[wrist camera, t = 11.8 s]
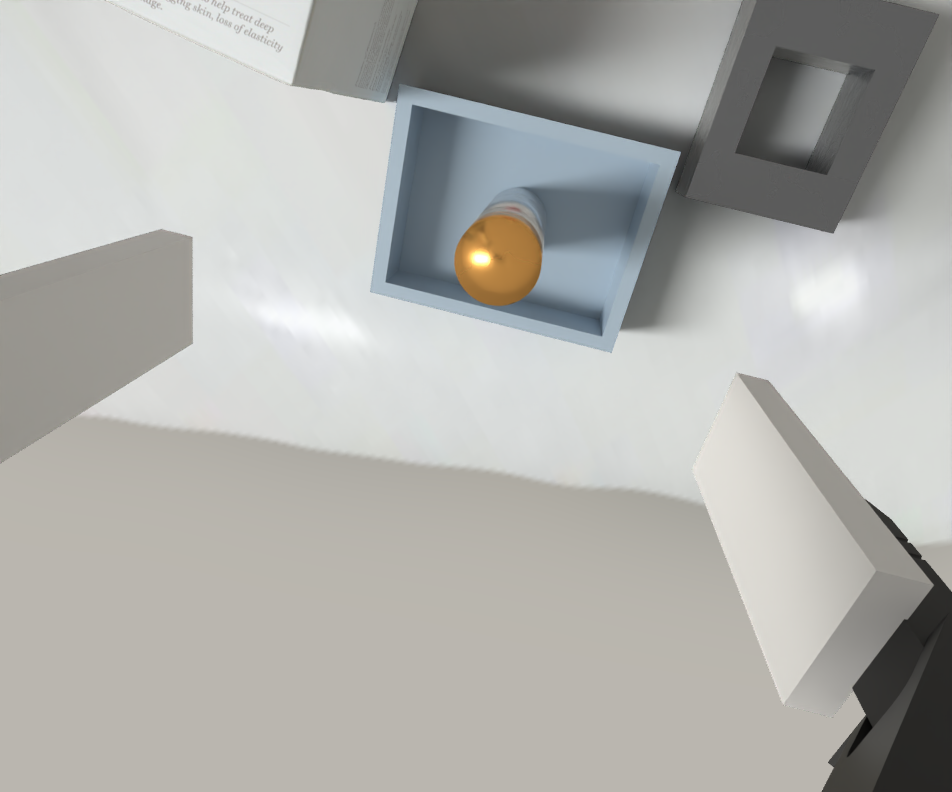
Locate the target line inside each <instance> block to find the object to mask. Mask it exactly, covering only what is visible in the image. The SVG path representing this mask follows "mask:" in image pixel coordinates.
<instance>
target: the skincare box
mask: <svg viewBox="0 0 952 792" xmlns="http://www.w3.org/2000/svg"><path fill="white" fill-rule="evenodd" d="M105 1H107V2H109V3H111V4H113V5H115V6H117V7H119V8H121V9H124V10H126V11H128V12H130V13H132V14H134V15H136V16H138V17H140V18H142V19H144V20H146V21H148V22H150V23H152V24H154V25H156V26H159V27H161V28H163V29H165V30H167V31H169V32H172V33H174V34H176V35H178V36H180V37H182V38H184V39H186V40H189V41H191V42H193V43H195V44H197V45H199V46H202V47H204V48H206V49H208V50H210V51H213V52H215V53H217V54H219V55H222V56H224V57H226V58H228V59H230V60H233V61H235V62H237V63H239V64H241V65H243V66H245V67H247V68H250V69H252V70H254V71H256V72H259V73H261V74H263V75H266V76H268V77H270V78H272V79H275V80H277V81H279V82H282V83H285V84H287V85H290V86H297V87H303V88H309V89H316V90H323V91H327V92H330V93H333V94H338V95H343V96H349V97H354V98H359V99H364V100H370V101H374V102H381V103H384V102H385V101H386V99H387V96H388V92H389V89H390V86H391V83H392V80H393V76H394V73H395V70H396V67H397V64H398V61H399V58H400V54H401V51H402V48H403V45H404V42H405V39H406V36H407V33H408V30H409V26H410V23H411V20H412V17H413V14H414V11H415V8H416V5H417V2H418V0H105Z"/></svg>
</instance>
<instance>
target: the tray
mask: <svg viewBox="0 0 952 792" xmlns="http://www.w3.org/2000/svg"><path fill="white" fill-rule="evenodd" d="M680 154H681V152H679V151H675V150H671V149H667V148H663V147H659V146H654V145H650V144H646V143H642V142H638V141H634V140H630V139H626V138H622V137H618V136H613V135H609V134H605V133H601V132H597V131H593V130H589V129H585V128H581V127H577V126H572V125H568V124H564V123H560V122H556V121H552V120H548V119H544V118H540V117H535V116H531V115H527V114H523V113H519V112H515V111H511V110H507V109H503V108H499V107H494V106H490V105H486V104H482V103H478V102H474V101H470V100H466V99H462V98H458V97H453V96H449V95H445V94H441V93H437V92H433V91H429V90H425V89H421V88H417V87H412V86H408V85H404V84H400V83H399V91H398V98H397V105H396V112H395V119H394V126H393V133H392V140H391V147H390V155H389V162H388V169H387V176H386V183H385V190H384V197H383V204H382V211H381V219H380V226H379V233H378V240H377V247H376V254H375V261H374V268H373V275H372V283H371V290H370V292H372V293H376V294H380V295H384V296H388V297H392V298H396V299H400V300H404V301H408V302H412V303H416V304H420V305H424V306H428V307H432V308H436V309H440V310H444V311H448V312H452V313H455V314H459V315H463V316H467V317H471V318H475V319H479V320H483V321H487V322H491V323H495V324H499V325H503V326H507V327H511V328H515V329H519V330H523V331H527V332H531V333H535V334H539V335H543V336H547V337H551V338H555V339H559V340H563V341H567V342H571V343H575V344H579V345H583V346H587V347H591V348H595V349H599V350H603V351H607V352H610V353H612V350H613V347H614V344H615V341H616V338H617V336H618V333H619V330H620V327H621V324H622V321H623V318H624V315H625V313H626V310H627V307H628V304H629V301H630V298H631V295H632V292H633V289H634V287H635V284H636V281H637V278H638V275H639V272H640V269H641V266H642V264H643V261H644V258H645V255H646V252H647V249H648V246H649V243H650V240H651V238H652V235H653V232H654V229H655V226H656V223H657V220H658V217H659V215H660V212H661V209H662V206H663V203H664V200H665V197H666V194H667V191H668V189H669V186H670V183H671V180H672V177H673V174H674V171H675V168H676V166H677V163H678V160H679V157H680ZM514 187H520V188H525V189H528V190H530V191H532V192H533V193H535V194H536V195H537V196H538V197H539V198H540V199H541V201H542V202H543V204H544V207H545V210H546V215H547V221H546V231H545V239H544V248H543V257H542V266H541V272H540V276H539V279H538V281H537V283H536V285H535V286H534V288H533V289H532V290H531V291H530V293H529V294H528V295H526V296H525V297H524V298H522V299H521V300H519V301H517V302H515V303H512V304H509V305H504V306H493V305H487V304H484V303H482V302H479V301H477V300H476V299H474V298H473V297H471V296H470V295H469V294H468V293H467V292H466V291H465V290H464V289H463V287H462V286H461V284H460V282H459V281H458V278H457V276H456V272H455V266H454V257H455V251H456V247H457V245H458V242H459V241H460V239H461V237H462V236H463V234H464V233H465V232H466V231H467V230H468V228H469V227H470V226H471V225H472V224H473V222H474V221H475V220H476V219H477V218H478V216H479V215H480V214H481V213H482V212H483V210H484V209H485V208H486V207H487V206H488V204H489V203H490V202H491V201H492V200H493V198H494V197H495V196H496V195H497V194H499V193H500V192H502V191H503V190H506V189H509V188H514Z"/></svg>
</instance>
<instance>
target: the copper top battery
mask: <svg viewBox="0 0 952 792" xmlns="http://www.w3.org/2000/svg"><path fill="white" fill-rule="evenodd" d="M546 221H547V215H546V210H545V207H544V204H543V202H542V201H541V199H540V198H539V197H538V196H537V195H536V194H535V193H533V192H532V191H530V190H528V189H525V188H520V187H514V188H509V189H506V190H503V191H502V192H500V193H499V194H497V195H496V196H495V197H494V198H493V200H492V201H491V202H490V203H489V204H488V206H487V207H486V208H485V209H484V210H483V212H482V213H481V214H480V215H479V216H478V218H477V219H476V220H475V221H474V222H473V224H472V225H471V226H470V227H469V228H468V230H467V231H466V232H465V233H464V234H463V236H462V237H461V239H460V241H459V242H458V245H457V247H456V251H455V257H454V266H455V272H456V276H457V278H458V281H459V282H460V284H461V286H462V287H463V289H464V290H465V291H466V292H467V293H468V294H469V295H470V296H471V297H473V298H474V299H476V300H477V301H479V302H482V303H484V304H487V305H493V306H504V305H509V304H512V303H515V302H517V301H519V300H521V299H522V298H524V297H525V296H526V295H528V294H529V293H530V291H531V290H532V289H533V288H534V286H535V285H536V283H537V281H538V279H539V276H540V272H541V266H542V257H543V248H544V239H545V231H546Z"/></svg>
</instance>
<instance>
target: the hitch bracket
mask: <svg viewBox="0 0 952 792" xmlns="http://www.w3.org/2000/svg"><path fill="white" fill-rule="evenodd" d="M938 16H939V14H936V13H932V12H927V11H923V10H919V9H915V8H910V7H906V6H902V5H898V4H893V3H889V2H885V1H881V0H743V1H742V4H741V7H740V10H739V12H738V15H737V18H736V21H735V24H734V27H733V29H732V32H731V35H730V38H729V41H728V44H727V46H726V49H725V52H724V55H723V58H722V61H721V63H720V66H719V69H718V72H717V75H716V78H715V80H714V83H713V86H712V89H711V92H710V95H709V97H708V100H707V103H706V106H705V109H704V112H703V114H702V117H701V120H700V123H699V126H698V129H697V131H696V134H695V137H694V140H693V143H692V146H691V148H690V151H689V154H688V157H687V160H686V163H685V166H684V168H683V171H682V174H681V177H680V180H679V183H678V185H677V188H676V192H677V193H679V194H681V195H682V196H684V197H686V198H690V199H694V200H698V201H703V202H707V203H711V204H715V205H719V206H723V207H727V208H731V209H735V210H739V211H743V212H747V213H751V214H756V215H760V216H764V217H768V218H772V219H776V220H780V221H784V222H788V223H792V224H796V225H800V226H804V227H808V228H813V229H817V230H821V231H825V232H829V233H834V231H835V229H836V227H837V225H838V223H839V221H840V219H841V217H842V215H843V213H844V211H845V209H846V206H847V204H848V202H849V200H850V198H851V196H852V194H853V192H854V190H855V188H856V186H857V184H858V182H859V179H860V177H861V175H862V173H863V171H864V169H865V167H866V165H867V163H868V161H869V159H870V157H871V155H872V153H873V150H874V148H875V146H876V144H877V142H878V140H879V138H880V136H881V134H882V132H883V130H884V128H885V126H886V124H887V121H888V119H889V117H890V115H891V113H892V111H893V109H894V107H895V105H896V103H897V101H898V99H899V97H900V95H901V92H902V90H903V88H904V86H905V84H906V82H907V80H908V78H909V76H910V74H911V72H912V70H913V68H914V66H915V63H916V61H917V59H918V57H919V55H920V53H921V51H922V49H923V47H924V45H925V43H926V41H927V39H928V37H929V34H930V32H931V30H932V28H933V26H934V24H935V22H936V20H937V18H938ZM772 57H776V58H780V59H784V60H788V61H793V62H797V63H801V64H805V65H809V66H813V67H818V68H822V69H826V70H830V71H834V72H839V73H843V74H847V76H846V78H845V81H844V83H843V85H842V88H841V90H840V92H839V94H838V97H837V99H836V101H835V103H834V106H833V108H832V110H831V113H830V115H829V117H828V119H827V122H826V124H825V126H824V128H823V131H822V133H821V135H820V138H819V140H818V142H817V144H816V147H815V149H814V151H813V153H812V156H811V158H810V160H809V162H808V165H807V167H806V169H805V170H803V169H799V168H795V167H791V166H787V165H783V164H779V163H775V162H770V161H766V160H762V159H758V158H754V157H750V156H746V155H742V154H738V153H735V151H736V149H737V146H738V144H739V141H740V138H741V136H742V133H743V131H744V128H745V125H746V123H747V120H748V118H749V115H750V112H751V110H752V107H753V105H754V102H755V99H756V97H757V94H758V92H759V89H760V86H761V84H762V81H763V79H764V76H765V73H766V71H767V68H768V66H769V63H770V60H771V58H772Z"/></svg>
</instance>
